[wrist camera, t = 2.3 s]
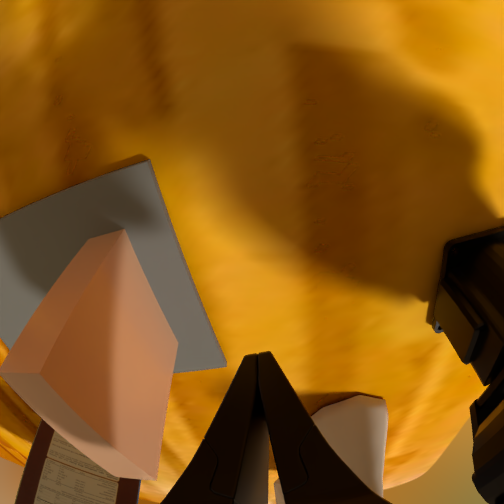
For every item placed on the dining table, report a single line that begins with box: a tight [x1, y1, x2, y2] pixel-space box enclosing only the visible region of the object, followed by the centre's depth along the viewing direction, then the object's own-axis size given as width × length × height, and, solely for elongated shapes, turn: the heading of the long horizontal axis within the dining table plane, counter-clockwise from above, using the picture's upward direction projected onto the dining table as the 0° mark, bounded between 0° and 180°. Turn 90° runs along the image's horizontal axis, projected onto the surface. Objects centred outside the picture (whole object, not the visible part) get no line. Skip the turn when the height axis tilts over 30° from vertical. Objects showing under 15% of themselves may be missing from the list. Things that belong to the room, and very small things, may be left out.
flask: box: [311, 395, 388, 498], centre depth 18 cm, size 7×7×10 cm
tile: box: [0, 229, 178, 480], centre depth 11 cm, size 2×7×8 cm, turn 13°
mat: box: [0, 159, 227, 373], centre depth 15 cm, size 16×12×1 cm
